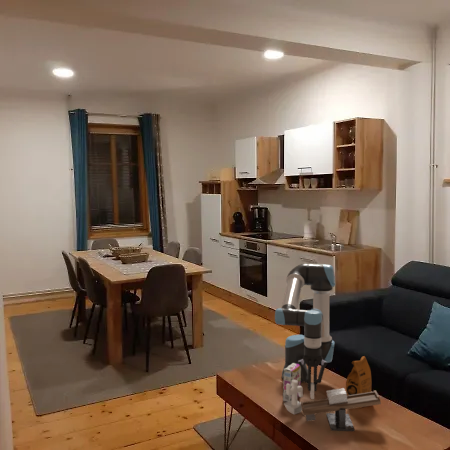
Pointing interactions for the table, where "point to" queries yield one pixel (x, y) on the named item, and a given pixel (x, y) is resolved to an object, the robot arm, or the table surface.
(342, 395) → the block
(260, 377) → the table surface
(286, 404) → the figurine
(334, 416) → the pivot stand
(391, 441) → the table surface
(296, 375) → the candy bar box
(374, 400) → the beam
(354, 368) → the coffee package
